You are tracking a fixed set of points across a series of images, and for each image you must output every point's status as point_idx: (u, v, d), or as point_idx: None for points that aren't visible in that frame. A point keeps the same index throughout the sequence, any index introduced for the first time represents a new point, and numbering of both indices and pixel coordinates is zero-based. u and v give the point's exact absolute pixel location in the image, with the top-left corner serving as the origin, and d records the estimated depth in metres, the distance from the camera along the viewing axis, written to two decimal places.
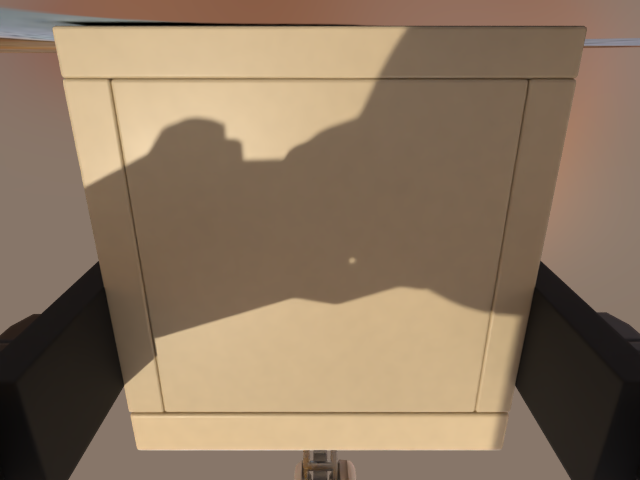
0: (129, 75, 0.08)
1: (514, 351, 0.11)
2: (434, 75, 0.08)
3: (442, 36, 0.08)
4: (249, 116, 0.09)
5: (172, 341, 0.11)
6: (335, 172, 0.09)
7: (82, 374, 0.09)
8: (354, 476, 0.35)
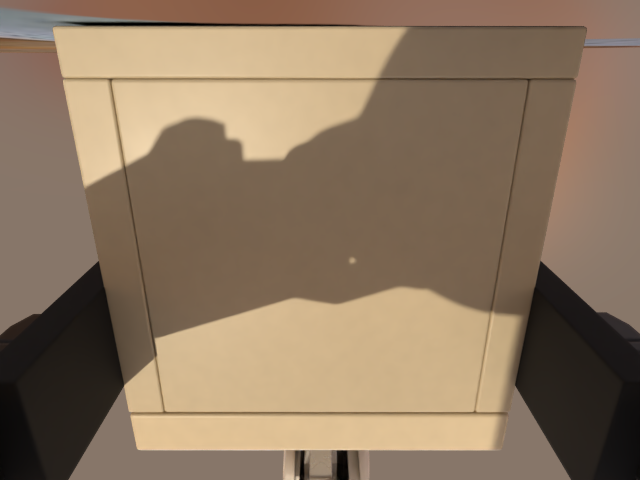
0: (129, 75, 0.08)
1: (514, 351, 0.11)
2: (434, 75, 0.08)
3: (442, 36, 0.08)
4: (249, 116, 0.09)
5: (172, 341, 0.11)
6: (335, 172, 0.09)
7: (82, 374, 0.09)
8: None
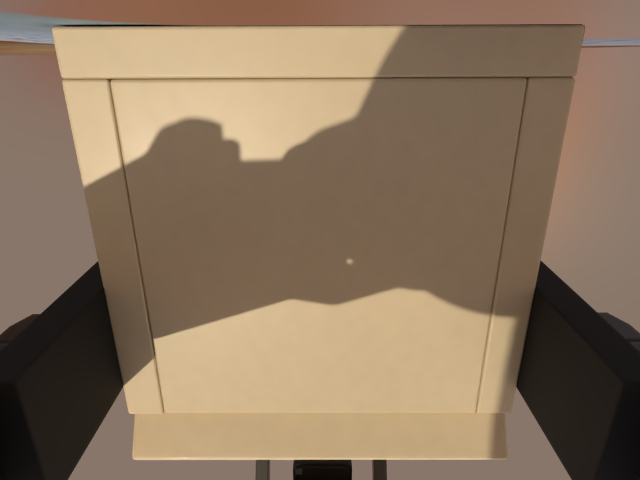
0: (128, 75, 0.08)
1: (515, 351, 0.11)
2: (432, 74, 0.08)
3: (440, 35, 0.08)
4: (248, 116, 0.09)
5: (172, 342, 0.11)
6: (334, 172, 0.09)
7: (81, 374, 0.09)
8: None
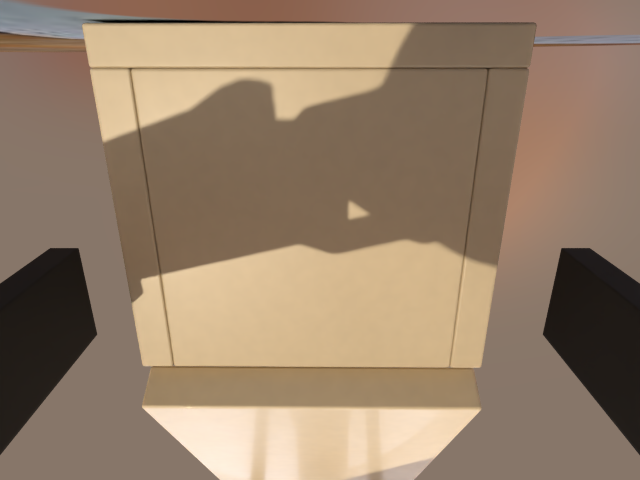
0: (146, 65, 0.10)
1: (483, 311, 0.12)
2: (407, 65, 0.10)
3: (412, 31, 0.10)
4: (248, 100, 0.10)
5: (181, 300, 0.12)
6: (323, 149, 0.10)
7: None
8: None
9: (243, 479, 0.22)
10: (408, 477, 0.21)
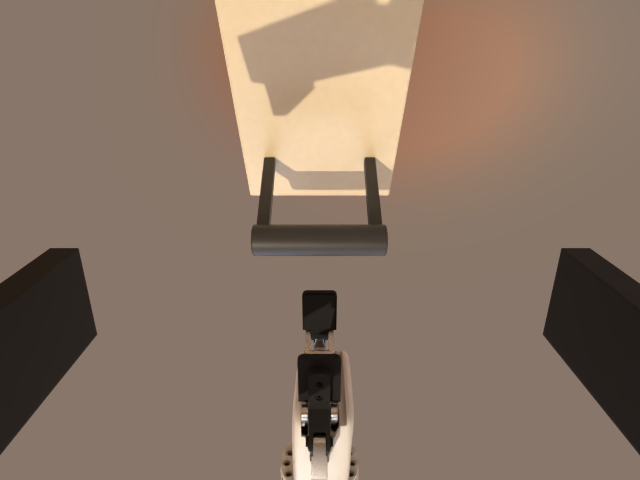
0: None
1: None
2: None
3: None
4: None
5: None
6: None
7: None
8: (347, 359, 0.43)
9: (259, 134, 0.27)
10: (395, 122, 0.26)
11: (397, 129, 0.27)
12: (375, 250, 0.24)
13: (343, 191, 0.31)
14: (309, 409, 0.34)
